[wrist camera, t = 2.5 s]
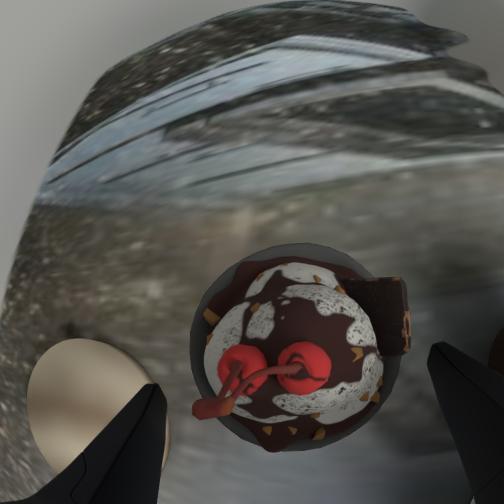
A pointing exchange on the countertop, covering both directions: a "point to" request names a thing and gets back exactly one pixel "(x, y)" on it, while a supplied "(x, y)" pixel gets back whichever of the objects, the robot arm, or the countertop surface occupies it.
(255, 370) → the sundae
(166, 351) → the countertop surface
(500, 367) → the coffee mug
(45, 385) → the coaster
